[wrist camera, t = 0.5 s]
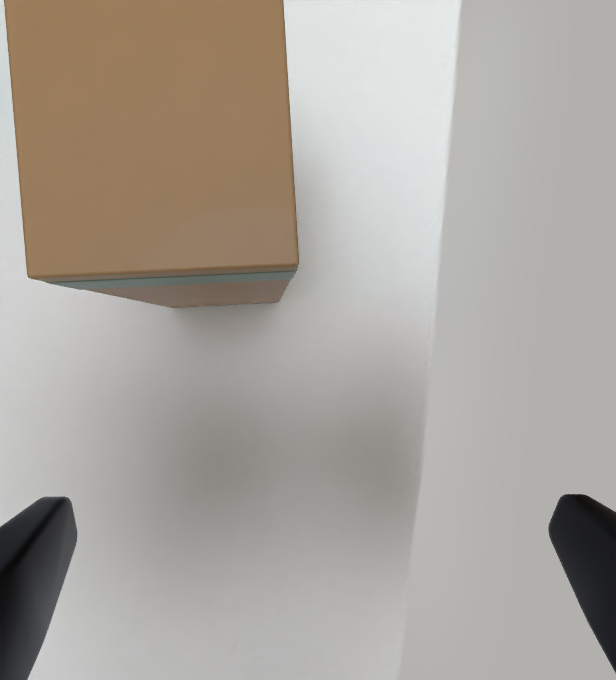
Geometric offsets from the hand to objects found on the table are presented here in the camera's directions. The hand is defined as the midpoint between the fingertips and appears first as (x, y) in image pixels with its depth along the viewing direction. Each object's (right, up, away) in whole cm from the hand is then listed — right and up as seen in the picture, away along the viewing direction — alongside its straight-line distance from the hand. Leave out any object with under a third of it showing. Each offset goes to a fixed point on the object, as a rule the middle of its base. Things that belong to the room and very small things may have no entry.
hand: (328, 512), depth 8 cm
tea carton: (-4, +8, +12) cm, 15 cm away
